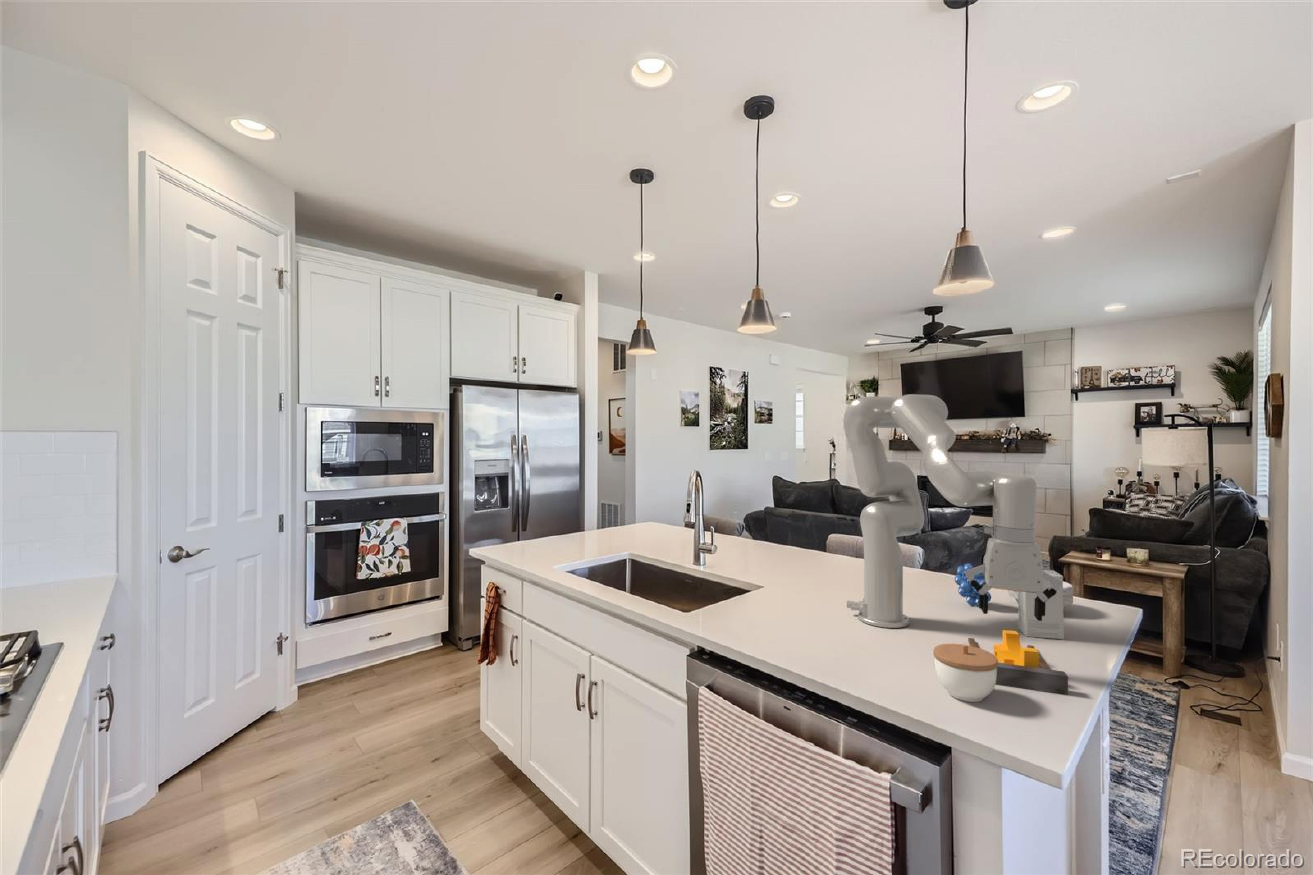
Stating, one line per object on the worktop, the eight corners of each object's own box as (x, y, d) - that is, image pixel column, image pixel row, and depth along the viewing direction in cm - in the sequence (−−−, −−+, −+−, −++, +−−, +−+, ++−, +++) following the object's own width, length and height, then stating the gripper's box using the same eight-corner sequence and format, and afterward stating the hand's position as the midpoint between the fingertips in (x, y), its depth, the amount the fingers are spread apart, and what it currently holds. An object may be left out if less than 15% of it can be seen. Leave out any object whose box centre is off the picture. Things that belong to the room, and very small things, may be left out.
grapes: (944, 601, 163) (944, 561, 163) (961, 599, 166) (961, 559, 166) (978, 613, 152) (978, 570, 152) (996, 611, 155) (996, 568, 155)
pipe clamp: (993, 658, 122) (993, 629, 122) (1015, 660, 121) (1015, 631, 121) (1014, 682, 111) (1014, 650, 111) (1039, 684, 110) (1039, 652, 109)
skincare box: (1055, 631, 138) (1055, 569, 138) (1065, 641, 132) (1065, 576, 132) (1016, 628, 141) (1016, 567, 141) (1024, 636, 135) (1024, 573, 135)
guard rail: (980, 681, 110) (980, 664, 110) (965, 640, 132) (965, 626, 132) (1067, 694, 105) (1067, 676, 105) (1036, 649, 127) (1036, 634, 127)
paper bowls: (1045, 600, 165) (1045, 573, 165) (1087, 617, 149) (1087, 587, 149) (996, 601, 164) (996, 574, 164) (1033, 618, 149) (1033, 588, 149)
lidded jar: (1003, 713, 98) (1003, 660, 98) (935, 701, 102) (935, 651, 102) (992, 687, 108) (992, 639, 108) (931, 678, 112) (931, 632, 112)
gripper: (968, 534, 115) (966, 615, 116) (1068, 542, 109) (1065, 627, 109) (964, 528, 122) (961, 604, 123) (1057, 535, 116) (1055, 615, 116)
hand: (1010, 615), depth 116 cm, fingers open, 9 cm apart
